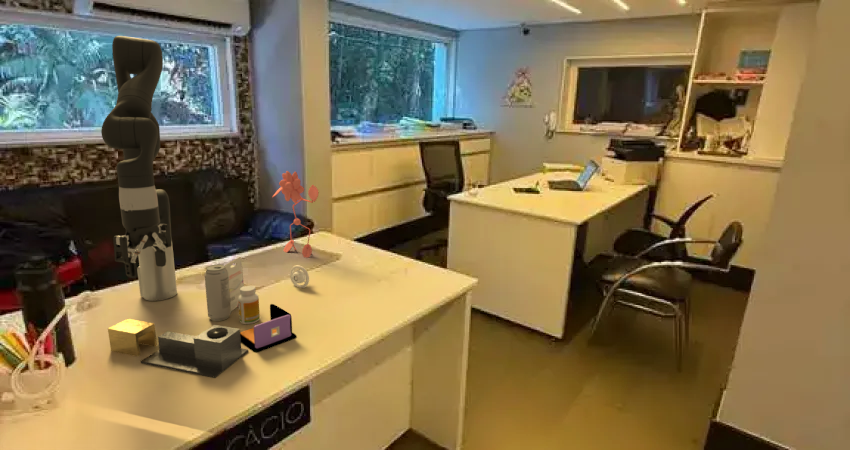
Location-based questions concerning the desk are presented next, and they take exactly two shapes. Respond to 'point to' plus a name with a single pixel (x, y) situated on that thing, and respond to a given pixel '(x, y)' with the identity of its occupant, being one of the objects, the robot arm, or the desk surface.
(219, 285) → the energy drink can
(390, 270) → the desk surface
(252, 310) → the supplement bottle
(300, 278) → the ring around a ball
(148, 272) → the robot arm
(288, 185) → the flower sculpture
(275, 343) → the toy room diorama
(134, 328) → the brass open box
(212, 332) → the grey knob base
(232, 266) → the ink cartridge box
